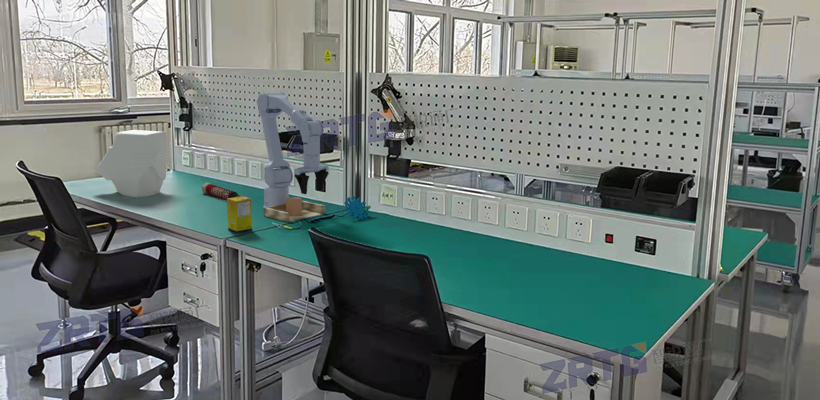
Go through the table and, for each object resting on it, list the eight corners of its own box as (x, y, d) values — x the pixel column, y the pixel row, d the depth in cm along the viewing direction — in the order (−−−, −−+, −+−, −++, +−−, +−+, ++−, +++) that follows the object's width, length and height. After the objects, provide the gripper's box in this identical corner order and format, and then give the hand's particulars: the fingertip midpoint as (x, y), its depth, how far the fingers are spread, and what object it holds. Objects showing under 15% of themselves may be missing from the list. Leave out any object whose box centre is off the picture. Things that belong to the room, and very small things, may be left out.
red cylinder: (246, 194, 255) (209, 183, 276) (236, 191, 252) (200, 180, 272) (243, 206, 255) (206, 193, 275) (232, 203, 251) (196, 190, 272)
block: (286, 214, 235) (285, 198, 233) (294, 212, 238) (294, 196, 237) (293, 216, 232) (293, 200, 231) (301, 214, 235) (301, 198, 234)
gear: (349, 217, 227) (342, 194, 232) (342, 226, 231) (335, 203, 236) (376, 218, 234) (368, 195, 238) (368, 226, 237) (361, 204, 242)
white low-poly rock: (144, 199, 257) (140, 135, 252) (95, 193, 268) (90, 131, 262) (182, 190, 276) (179, 131, 271) (135, 184, 287) (131, 127, 281)
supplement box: (243, 227, 218) (242, 195, 215) (252, 230, 213) (251, 198, 211) (227, 230, 213) (226, 198, 211) (236, 233, 209) (235, 200, 207)
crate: (263, 217, 232) (263, 207, 231) (301, 209, 246) (301, 200, 245) (287, 223, 224) (287, 213, 223) (325, 214, 238) (325, 205, 237)
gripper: (304, 158, 219) (304, 196, 222) (334, 154, 230) (334, 191, 233) (290, 155, 223) (290, 193, 226) (320, 151, 235) (320, 188, 238)
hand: (311, 192), depth 230 cm, fingers open, 7 cm apart
